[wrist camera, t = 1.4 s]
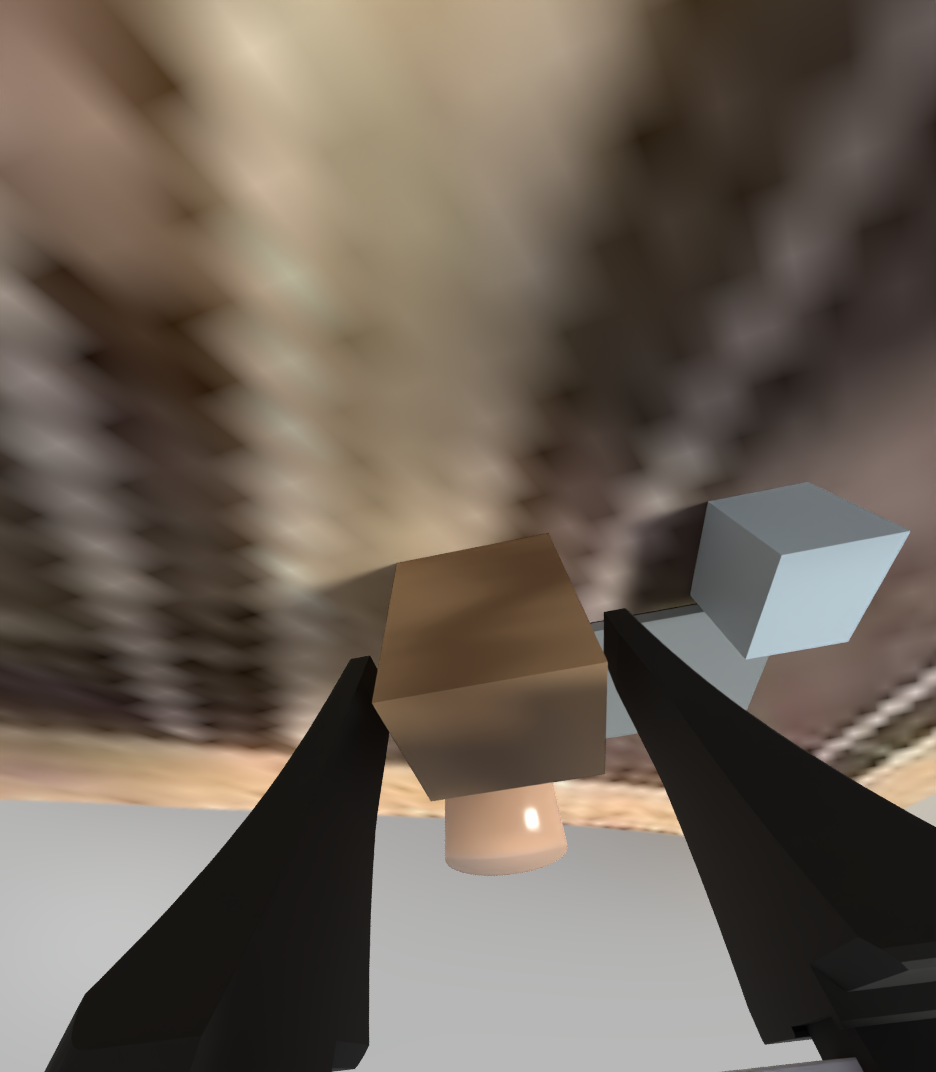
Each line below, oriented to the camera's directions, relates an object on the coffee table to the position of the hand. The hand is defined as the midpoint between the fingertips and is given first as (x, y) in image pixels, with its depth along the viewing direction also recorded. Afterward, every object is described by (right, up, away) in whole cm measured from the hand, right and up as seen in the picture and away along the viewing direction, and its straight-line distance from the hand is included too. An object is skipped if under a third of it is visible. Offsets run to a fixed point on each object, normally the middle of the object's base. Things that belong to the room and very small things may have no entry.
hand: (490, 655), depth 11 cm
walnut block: (0, +1, +2) cm, 2 cm away
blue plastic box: (+9, +4, +1) cm, 9 cm away
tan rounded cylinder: (0, -5, +6) cm, 8 cm away
